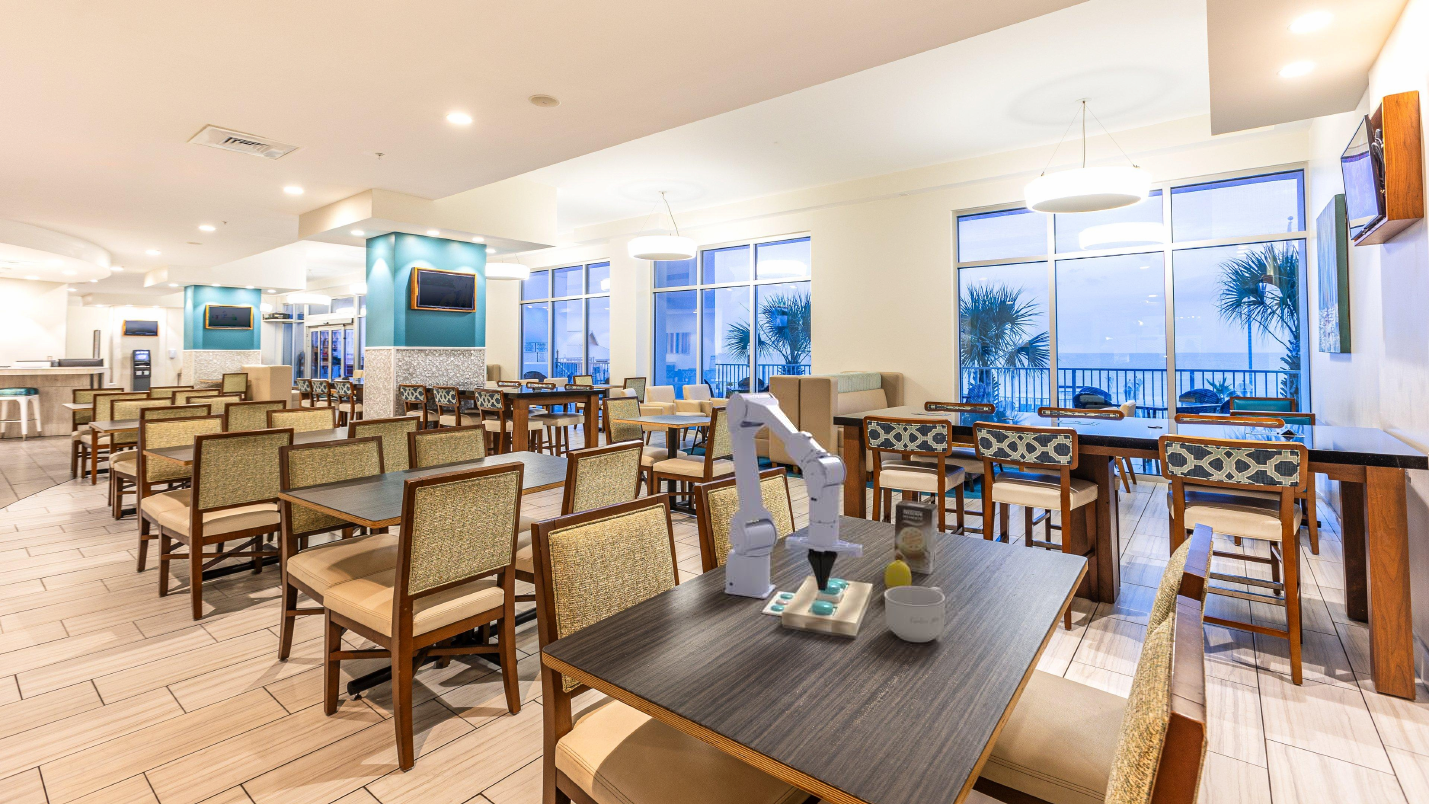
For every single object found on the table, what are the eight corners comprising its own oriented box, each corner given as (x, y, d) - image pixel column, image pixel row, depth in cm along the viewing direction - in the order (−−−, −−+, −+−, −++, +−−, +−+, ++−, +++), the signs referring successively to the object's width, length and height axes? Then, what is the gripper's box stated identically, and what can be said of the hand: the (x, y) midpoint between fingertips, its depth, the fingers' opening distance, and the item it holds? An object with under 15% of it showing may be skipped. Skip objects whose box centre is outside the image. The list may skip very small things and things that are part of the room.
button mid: (816, 602, 127) (817, 587, 127) (821, 595, 131) (821, 580, 131) (838, 605, 125) (838, 590, 125) (842, 598, 129) (842, 583, 129)
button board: (781, 627, 121) (781, 611, 121) (808, 588, 141) (808, 575, 141) (855, 639, 116) (855, 623, 115) (872, 597, 136) (872, 583, 136)
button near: (808, 623, 121) (808, 607, 120) (813, 615, 125) (814, 599, 124) (831, 627, 119) (831, 610, 119) (836, 618, 123) (836, 602, 123)
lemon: (912, 601, 134) (913, 564, 133) (885, 599, 135) (886, 563, 134) (909, 592, 139) (910, 556, 138) (883, 590, 140) (884, 555, 140)
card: (762, 613, 127) (762, 610, 127) (778, 593, 139) (778, 590, 138) (786, 616, 126) (786, 614, 126) (800, 596, 137) (801, 593, 137)
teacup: (913, 653, 110) (914, 609, 109) (871, 630, 120) (871, 589, 119) (969, 637, 116) (970, 595, 116) (924, 616, 126) (925, 577, 125)
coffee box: (892, 568, 155) (893, 504, 154) (899, 561, 161) (901, 499, 160) (930, 575, 150) (932, 508, 149) (937, 567, 156) (938, 503, 155)
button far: (824, 598, 134) (824, 583, 133) (828, 591, 138) (828, 577, 137) (844, 601, 132) (845, 586, 132) (848, 594, 136) (848, 579, 136)
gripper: (781, 520, 119) (780, 590, 120) (858, 528, 114) (857, 601, 115) (791, 512, 126) (790, 578, 127) (864, 519, 121) (863, 588, 122)
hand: (822, 588), depth 121 cm, fingers closed
